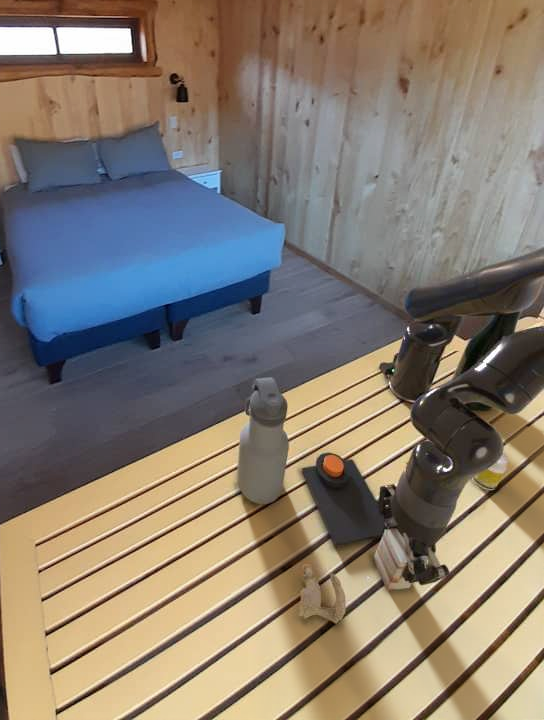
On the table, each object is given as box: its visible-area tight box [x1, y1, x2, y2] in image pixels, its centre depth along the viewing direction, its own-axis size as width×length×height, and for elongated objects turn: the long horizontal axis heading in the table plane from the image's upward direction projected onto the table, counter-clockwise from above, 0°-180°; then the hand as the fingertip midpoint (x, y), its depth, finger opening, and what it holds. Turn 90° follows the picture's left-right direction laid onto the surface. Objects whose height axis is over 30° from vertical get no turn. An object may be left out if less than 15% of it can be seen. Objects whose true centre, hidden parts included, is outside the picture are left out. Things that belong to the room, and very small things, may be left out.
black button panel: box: [301, 452, 385, 548], centre depth 83 cm, size 16×12×3 cm
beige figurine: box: [297, 563, 347, 624], centre depth 67 cm, size 9×6×10 cm
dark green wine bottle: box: [451, 310, 523, 413], centre depth 99 cm, size 10×10×33 cm
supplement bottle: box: [471, 452, 509, 491], centre depth 85 cm, size 5×5×8 cm
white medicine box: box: [373, 528, 419, 591], centre depth 70 cm, size 5×4×10 cm
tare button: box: [323, 455, 344, 478], centre depth 86 cm, size 4×4×2 cm
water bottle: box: [236, 377, 290, 505], centre depth 81 cm, size 10×10×28 cm
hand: (398, 557), depth 70 cm, fingers closed on white medicine box, 5 cm apart
